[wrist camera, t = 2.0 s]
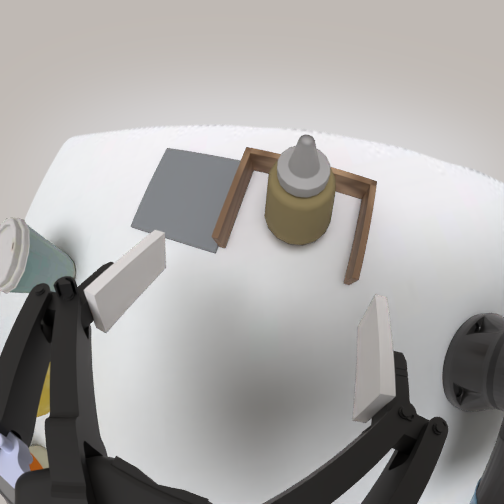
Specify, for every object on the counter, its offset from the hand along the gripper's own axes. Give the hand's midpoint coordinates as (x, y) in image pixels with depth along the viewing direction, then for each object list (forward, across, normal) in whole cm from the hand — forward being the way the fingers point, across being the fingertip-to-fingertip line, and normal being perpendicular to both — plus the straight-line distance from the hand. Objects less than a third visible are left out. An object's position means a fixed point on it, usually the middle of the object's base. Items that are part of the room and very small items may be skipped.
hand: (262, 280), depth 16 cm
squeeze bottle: (+21, 0, -6) cm, 22 cm away
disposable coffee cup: (+8, -34, -18) cm, 40 cm away
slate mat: (+21, -16, -6) cm, 27 cm away
